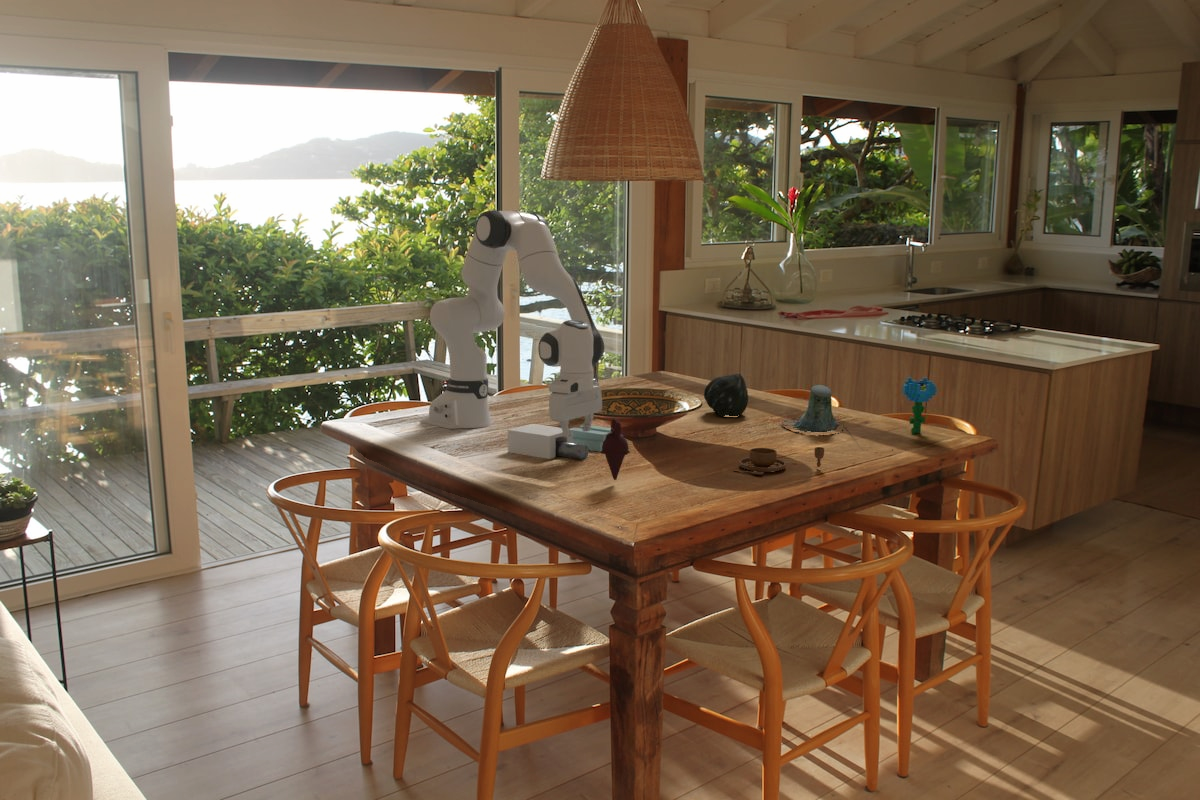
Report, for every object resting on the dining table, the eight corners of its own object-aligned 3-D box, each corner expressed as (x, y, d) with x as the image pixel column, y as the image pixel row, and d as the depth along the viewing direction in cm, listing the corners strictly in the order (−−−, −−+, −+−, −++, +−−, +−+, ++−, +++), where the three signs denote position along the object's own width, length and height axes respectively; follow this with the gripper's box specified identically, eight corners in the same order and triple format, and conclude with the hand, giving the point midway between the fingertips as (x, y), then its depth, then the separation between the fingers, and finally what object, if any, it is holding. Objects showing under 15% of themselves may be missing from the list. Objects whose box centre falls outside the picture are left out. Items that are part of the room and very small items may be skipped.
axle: (537, 454, 281) (537, 440, 280) (546, 451, 284) (546, 437, 283) (580, 461, 273) (580, 446, 273) (588, 458, 277) (588, 444, 276)
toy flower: (927, 436, 309) (931, 377, 306) (935, 443, 300) (939, 382, 297) (897, 436, 310) (900, 376, 307) (904, 442, 301) (908, 381, 298)
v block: (564, 446, 290) (564, 430, 290) (588, 438, 300) (588, 423, 300) (600, 451, 284) (600, 435, 283) (623, 444, 294) (623, 428, 293)
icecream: (597, 477, 256) (598, 417, 253) (626, 476, 257) (627, 416, 255) (602, 484, 249) (603, 423, 247) (632, 482, 251) (633, 422, 248)
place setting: (755, 459, 280) (756, 437, 279) (826, 469, 269) (827, 447, 268) (727, 472, 265) (728, 449, 264) (801, 483, 255) (802, 460, 254)
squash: (740, 414, 340) (742, 369, 338) (753, 423, 326) (755, 376, 323) (698, 415, 339) (699, 370, 336) (709, 424, 324) (710, 377, 321)
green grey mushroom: (832, 421, 326) (846, 374, 316) (846, 459, 309) (860, 410, 300) (775, 417, 325) (787, 369, 315) (785, 455, 308) (798, 405, 298)
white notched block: (507, 452, 282) (507, 429, 281) (531, 445, 291) (531, 423, 290) (549, 459, 274) (549, 436, 273) (572, 451, 283) (572, 429, 282)
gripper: (588, 376, 283) (588, 426, 285) (544, 386, 266) (545, 438, 269) (607, 378, 280) (607, 428, 282) (564, 388, 263) (565, 441, 265)
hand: (576, 433), depth 275 cm, fingers open, 8 cm apart
